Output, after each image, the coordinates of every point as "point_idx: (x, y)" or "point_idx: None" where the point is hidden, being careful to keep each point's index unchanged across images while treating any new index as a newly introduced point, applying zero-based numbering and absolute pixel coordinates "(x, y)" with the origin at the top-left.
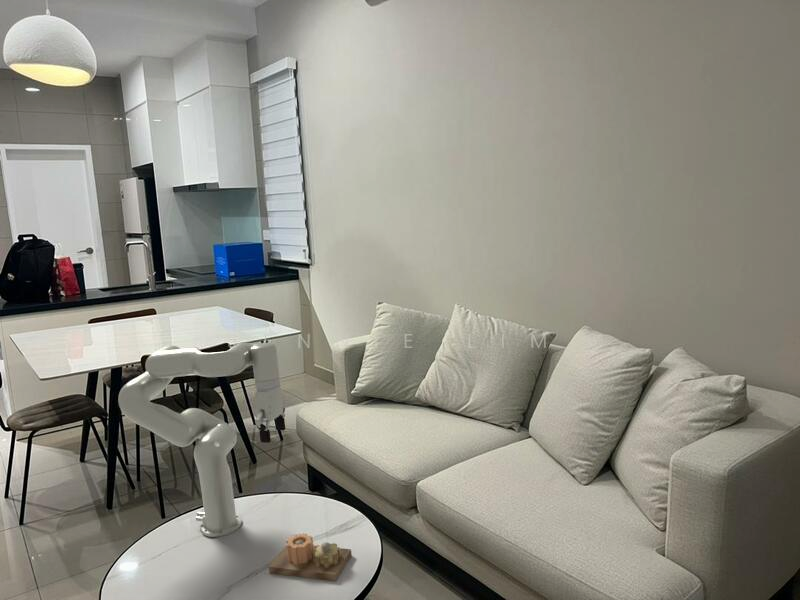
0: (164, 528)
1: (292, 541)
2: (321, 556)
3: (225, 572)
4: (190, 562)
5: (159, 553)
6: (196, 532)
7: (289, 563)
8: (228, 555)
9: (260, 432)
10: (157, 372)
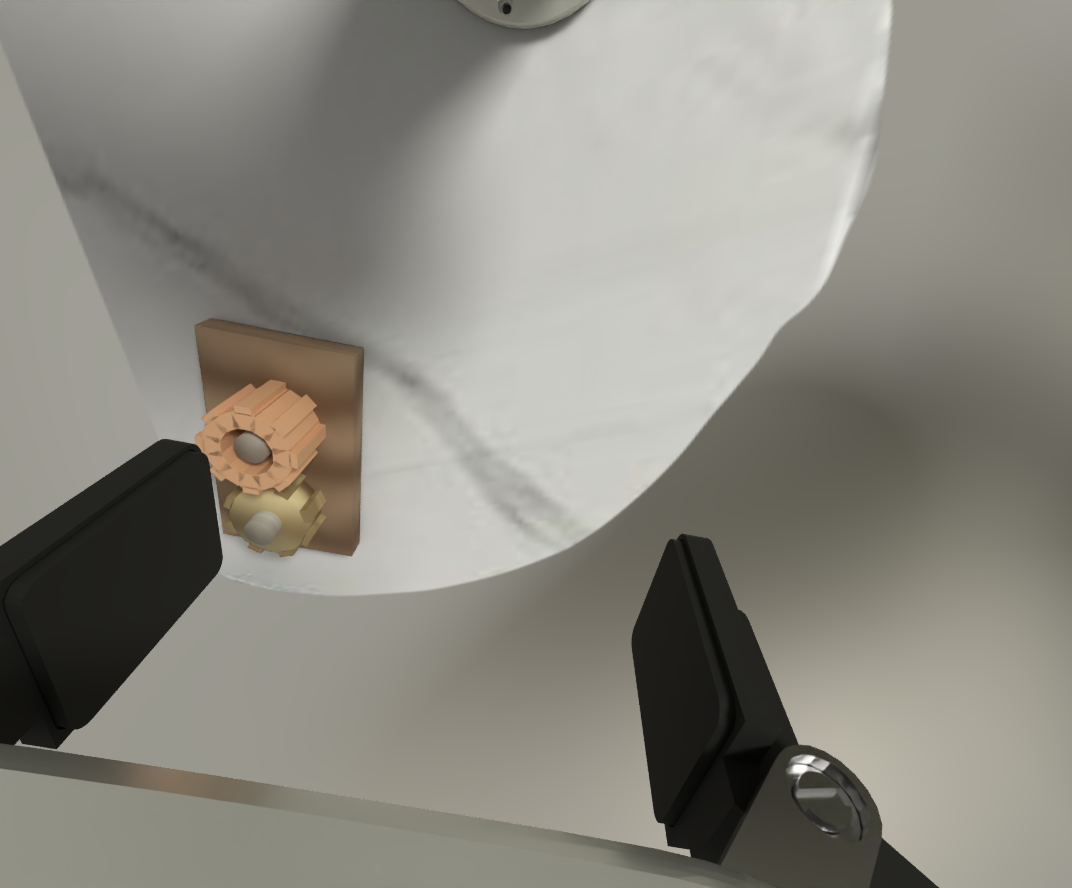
0: None
1: (239, 427)
2: (230, 515)
3: (163, 119)
4: None
5: None
6: None
7: (233, 394)
8: (276, 75)
9: (16, 558)
10: None
